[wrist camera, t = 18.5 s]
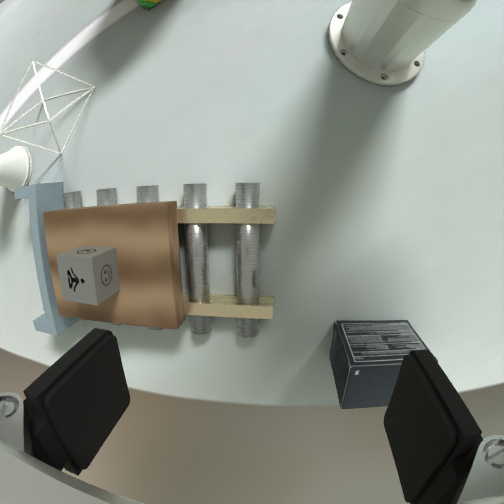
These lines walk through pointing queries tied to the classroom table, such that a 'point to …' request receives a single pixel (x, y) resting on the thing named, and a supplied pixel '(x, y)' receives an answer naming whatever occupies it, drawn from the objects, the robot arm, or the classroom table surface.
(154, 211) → the slab
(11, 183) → the vase
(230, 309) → the roller bed
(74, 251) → the dice cube
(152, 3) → the chalk box
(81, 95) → the geometric polyhedron
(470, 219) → the classroom table surface
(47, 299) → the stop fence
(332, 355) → the small box
